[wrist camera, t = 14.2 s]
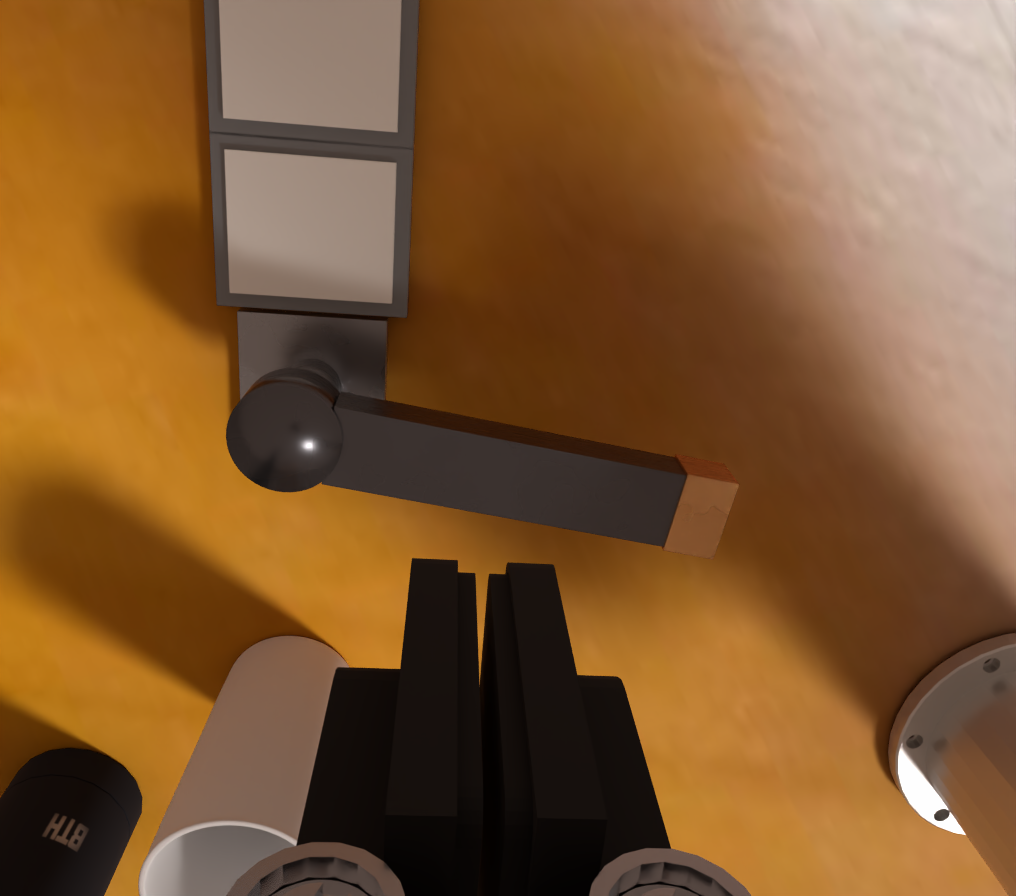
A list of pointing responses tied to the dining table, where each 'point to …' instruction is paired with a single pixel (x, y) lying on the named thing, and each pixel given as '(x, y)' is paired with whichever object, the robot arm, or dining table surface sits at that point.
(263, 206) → the label tile
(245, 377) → the pivot post base
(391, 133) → the label tile
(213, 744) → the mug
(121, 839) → the black bottle
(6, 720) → the dining table surface
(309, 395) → the swing arm
